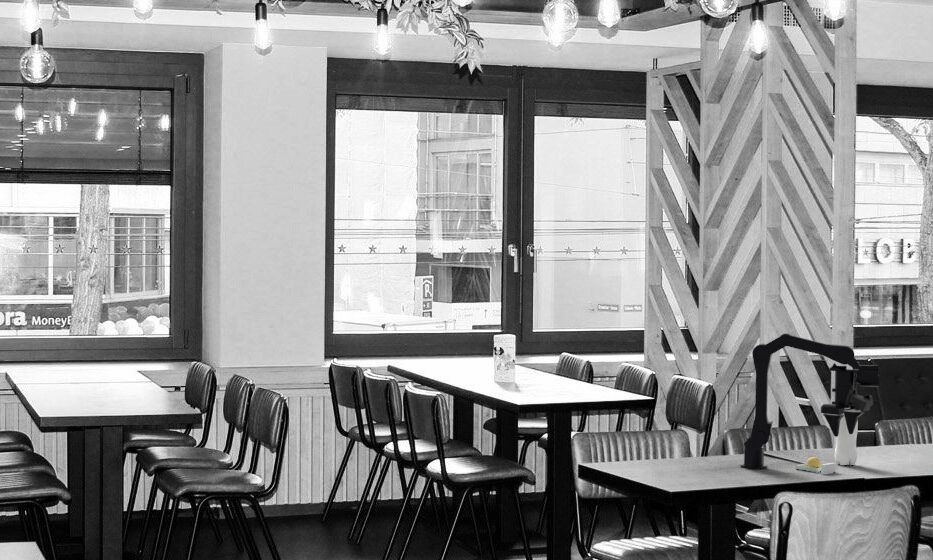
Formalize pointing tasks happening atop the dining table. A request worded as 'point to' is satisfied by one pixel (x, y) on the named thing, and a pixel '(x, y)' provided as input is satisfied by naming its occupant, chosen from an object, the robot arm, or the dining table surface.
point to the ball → (813, 462)
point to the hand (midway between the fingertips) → (843, 435)
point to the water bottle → (846, 444)
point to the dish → (808, 468)
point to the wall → (828, 468)
